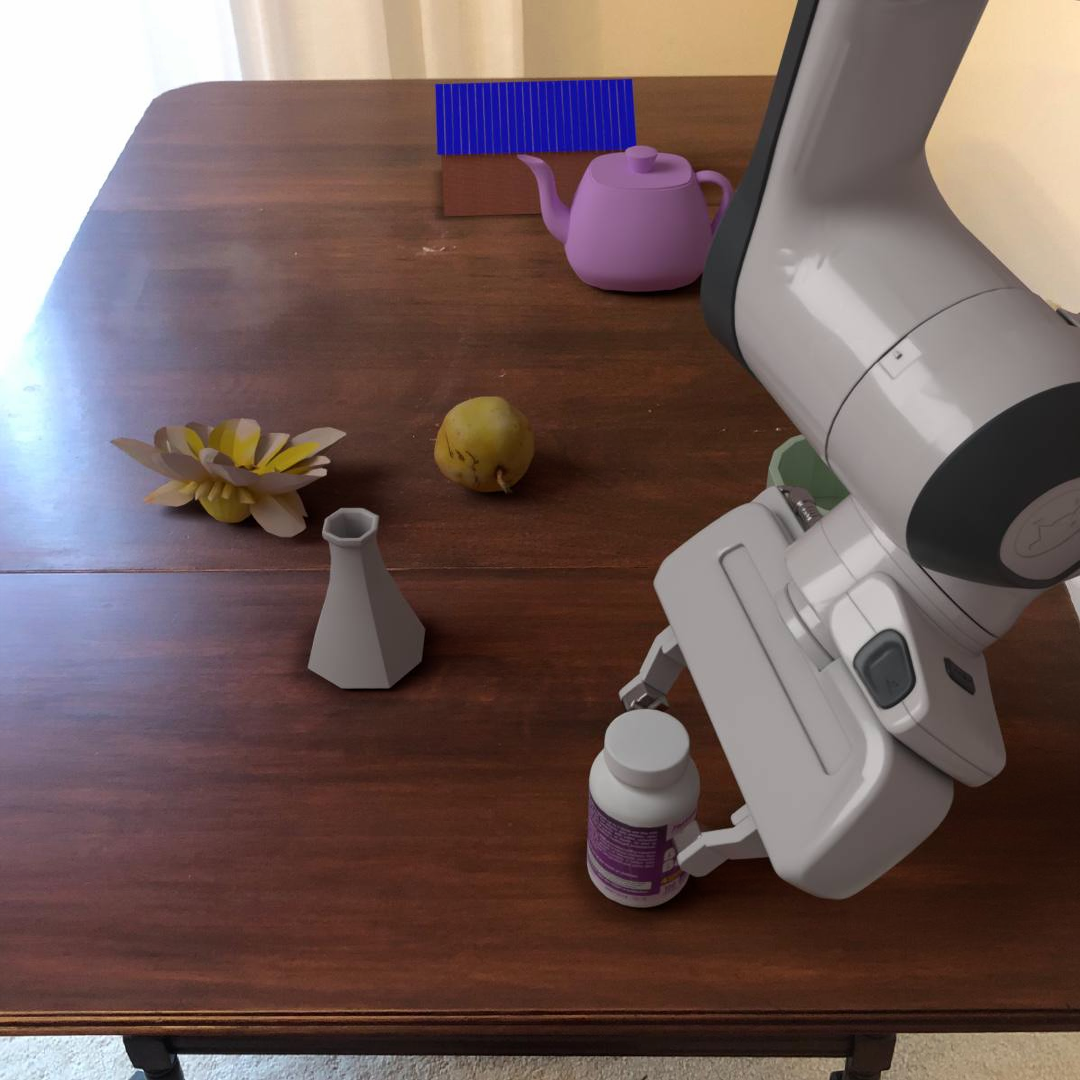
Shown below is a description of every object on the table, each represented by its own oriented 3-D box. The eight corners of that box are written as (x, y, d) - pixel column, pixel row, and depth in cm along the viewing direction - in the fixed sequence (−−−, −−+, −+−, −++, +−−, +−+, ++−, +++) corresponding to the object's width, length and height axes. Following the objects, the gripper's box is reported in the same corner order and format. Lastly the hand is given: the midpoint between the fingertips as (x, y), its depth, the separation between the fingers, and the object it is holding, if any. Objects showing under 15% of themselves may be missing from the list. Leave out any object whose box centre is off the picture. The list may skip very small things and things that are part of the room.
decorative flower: (393, 456, 89) (354, 352, 81) (321, 574, 83) (272, 474, 75) (223, 426, 94) (172, 326, 87) (144, 535, 88) (81, 438, 80)
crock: (945, 564, 81) (964, 491, 78) (821, 611, 78) (834, 537, 74) (849, 484, 89) (862, 414, 85) (731, 524, 85) (739, 453, 81)
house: (442, 173, 135) (436, 65, 128) (622, 167, 136) (626, 60, 129) (441, 217, 126) (434, 104, 119) (634, 212, 127) (638, 98, 119)
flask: (287, 678, 74) (262, 549, 68) (340, 602, 79) (322, 476, 73) (397, 705, 72) (382, 575, 66) (444, 626, 77) (434, 499, 71)
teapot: (723, 240, 121) (733, 122, 114) (737, 304, 111) (750, 178, 103) (521, 241, 121) (518, 123, 114) (517, 304, 111) (513, 179, 104)
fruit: (558, 446, 83) (527, 370, 90) (459, 438, 81) (436, 361, 88) (534, 526, 87) (506, 447, 94) (439, 520, 84) (419, 440, 92)
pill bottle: (683, 921, 60) (696, 793, 54) (577, 900, 61) (579, 772, 55) (697, 835, 64) (711, 707, 58) (598, 816, 65) (602, 689, 59)
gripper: (757, 437, 61) (563, 612, 65) (944, 741, 45) (672, 943, 49) (829, 498, 64) (640, 660, 69) (1027, 800, 48) (765, 983, 53)
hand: (655, 781), depth 59 cm, fingers open, 8 cm apart
